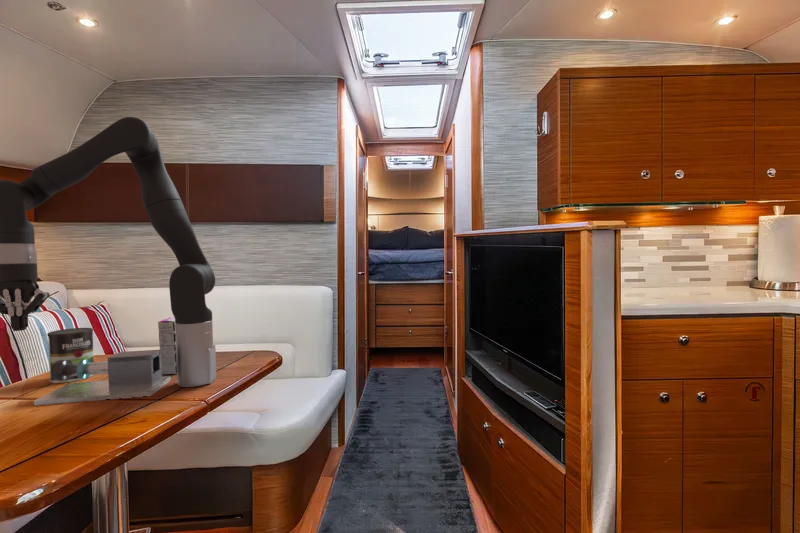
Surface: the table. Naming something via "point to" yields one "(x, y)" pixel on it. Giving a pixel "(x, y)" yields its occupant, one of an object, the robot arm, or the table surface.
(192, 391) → the table surface
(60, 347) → the coffee can
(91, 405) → the table surface
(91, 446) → the table surface
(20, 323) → the robot arm
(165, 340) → the candy bar box
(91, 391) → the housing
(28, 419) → the table surface
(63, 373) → the shaft
